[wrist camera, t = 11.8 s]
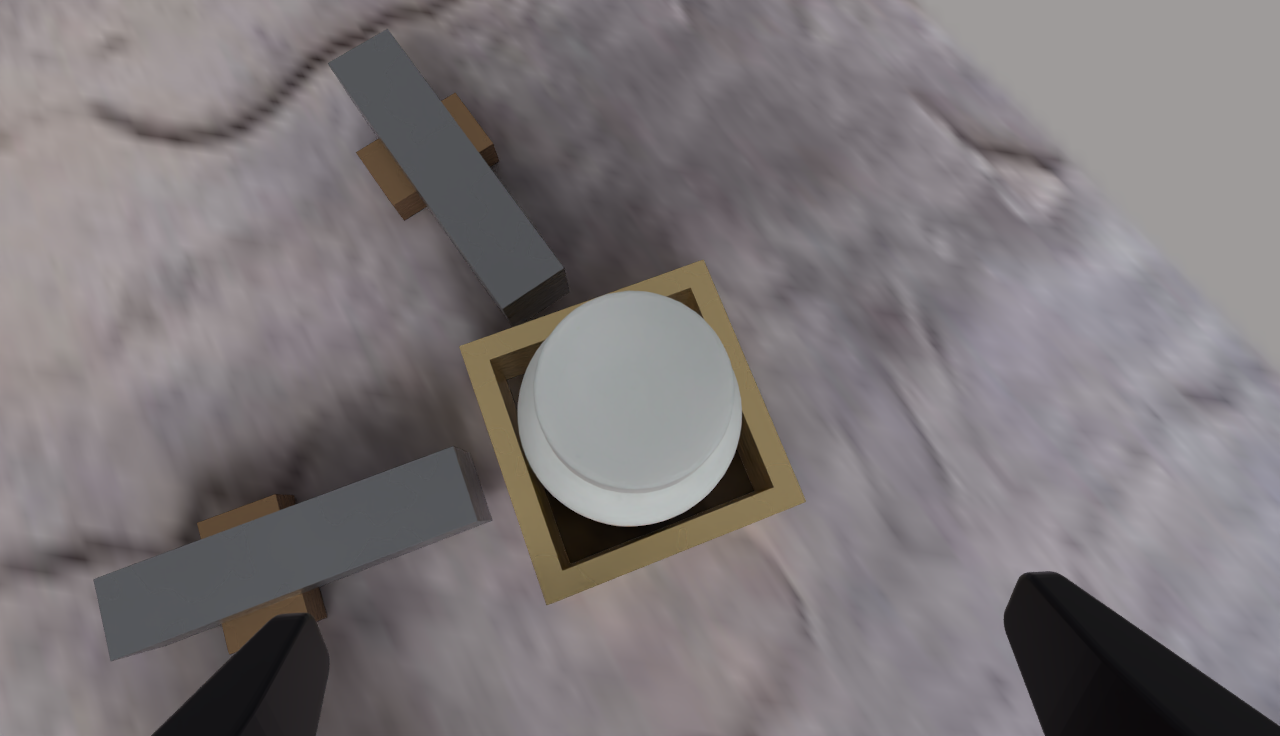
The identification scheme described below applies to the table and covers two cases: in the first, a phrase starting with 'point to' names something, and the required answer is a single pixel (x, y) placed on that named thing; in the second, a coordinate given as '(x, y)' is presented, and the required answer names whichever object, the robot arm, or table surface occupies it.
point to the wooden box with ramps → (446, 480)
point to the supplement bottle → (630, 409)
